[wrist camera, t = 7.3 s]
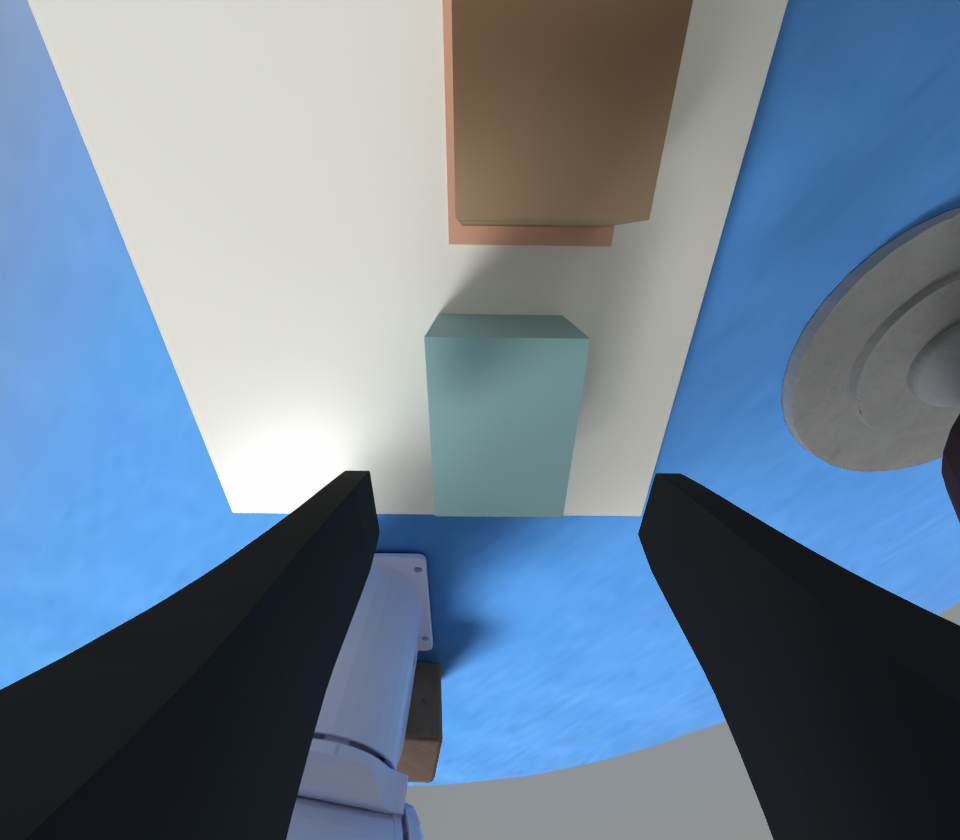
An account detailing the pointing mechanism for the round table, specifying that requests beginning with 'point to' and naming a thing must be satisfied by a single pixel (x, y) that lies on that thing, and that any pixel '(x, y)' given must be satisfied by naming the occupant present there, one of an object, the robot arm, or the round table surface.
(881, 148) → the round table surface
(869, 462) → the mate gourd
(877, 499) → the round table surface
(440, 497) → the teal block
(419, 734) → the wooden block set
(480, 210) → the walnut block
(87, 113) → the baseplate
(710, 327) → the round table surface
